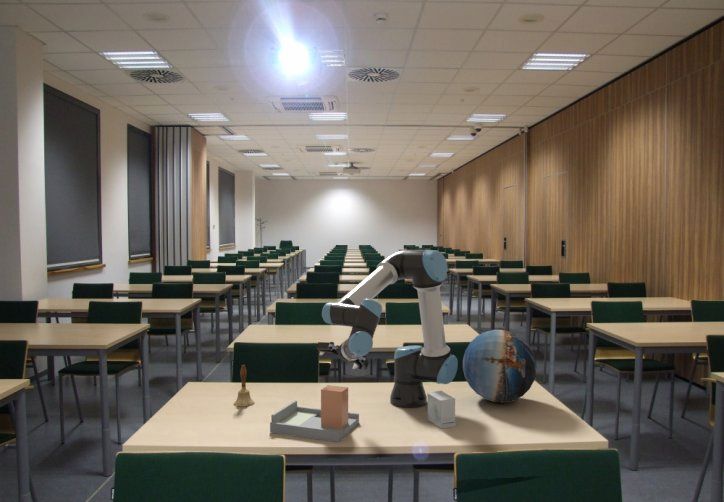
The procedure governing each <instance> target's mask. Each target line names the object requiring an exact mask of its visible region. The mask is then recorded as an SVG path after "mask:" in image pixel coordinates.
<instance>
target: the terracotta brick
mask: <svg viewBox="0 0 724 502" xmlns="http://www.w3.org/2000/svg"><path fill="white" fill-rule="evenodd" d="M320 409H321V426H325V427H332V428H340V429H342V428H343V427H345V426H346V425H347V424H348V412H349V387H348V386H347V387H346V386H341V385H340V386H337V385H328V384H327V385H326V386H324V387H323V388H321V389H320Z"/></svg>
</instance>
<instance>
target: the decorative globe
mask: <svg viewBox="0 0 724 502" xmlns="http://www.w3.org/2000/svg"><path fill="white" fill-rule="evenodd" d="M467 345H468V346H467V347H466V349H465V351H464V354H463V358H462V371H463V374H464V379H465V381H466V382H467V384H468V386H469V388H471V389H472V390H473V391H474V392H475V393H476V394H477V395H478V396H479V397H482V398H483V399H484V400H487V401H490V402H493V403H504V404H505V403H509V402H513V401H516V400H518V399H519V398H522V397H524V396H525V395H526V394H527V392H529V390H530V389H531V388H532V385H533V383H534V382H535V380H536V375H537V360H536V358H535V353H534V352H533V350H532V348H531V347H530V345H529V344H528V343H527V342H526V341H525V340H524V339H523V338H522V337H521V336H519V335H517V334H516V333H514V332H512V331H508V330H506V329H491V330H488V331H484V332H482V333H480V334H478V335H477V336H476V337H474V339H472V340H471V341H470V342H469V344H467Z"/></svg>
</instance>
